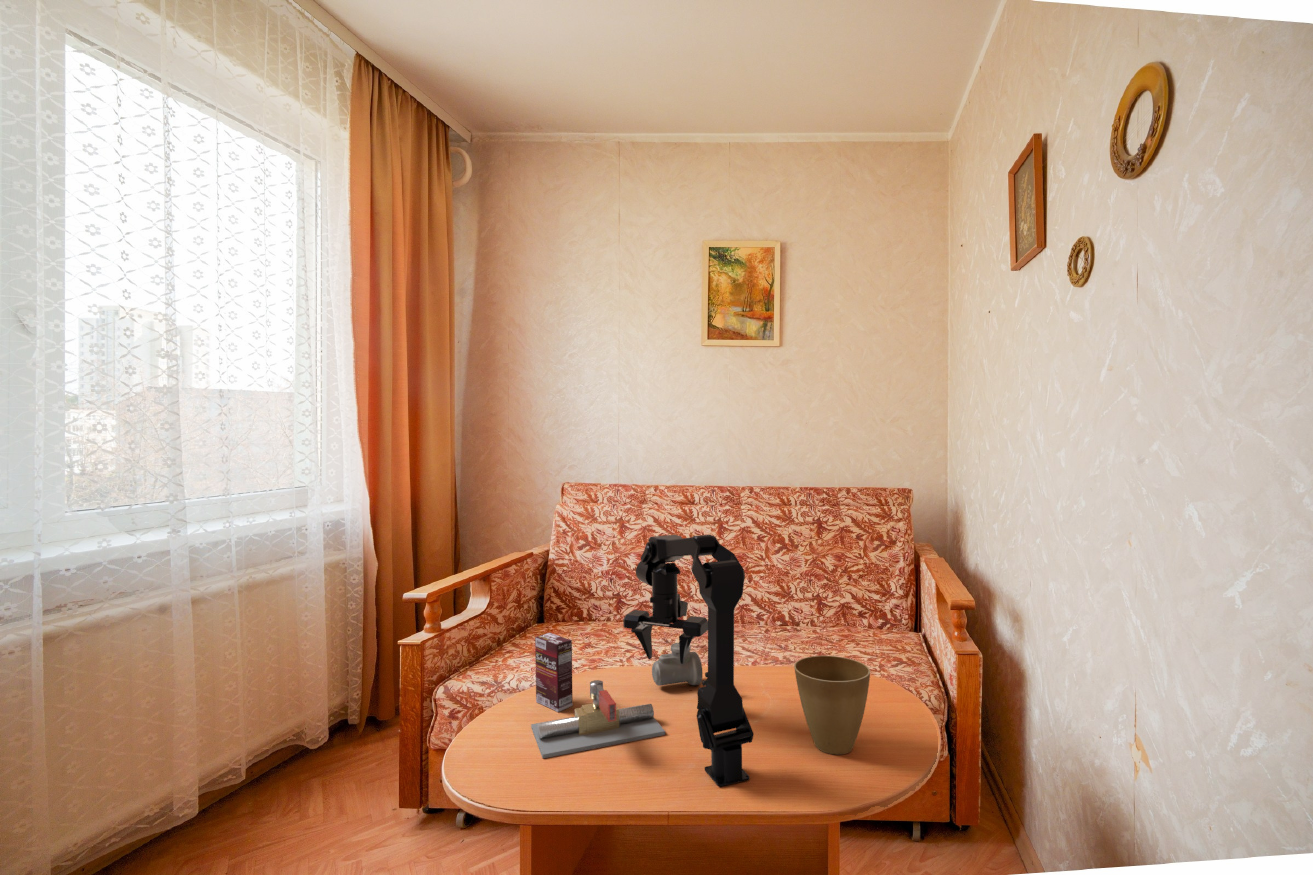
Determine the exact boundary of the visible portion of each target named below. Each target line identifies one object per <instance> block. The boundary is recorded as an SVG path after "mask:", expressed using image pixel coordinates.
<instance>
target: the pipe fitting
mask: <svg viewBox="0 0 1313 875" xmlns="http://www.w3.org/2000/svg"><path fill="white" fill-rule="evenodd" d="M691 646H692V645H690V646H689V649H688V652H687V655H686V658H685V661H684V663H683V664H681V662H680V648H679V642H673V643H672V644H671V645H670V651H671V653H665V654H664V653H663V654H661V655H660V656H659V657H658V660H655V661H654V662H653V664H652V666H651V675H652V676H651V677H652V679H653V682H654V683H655V685H656V686H658V687H659V686H668V685H674V684H680V683H681V684H682V683H687V684H689V685H690V686H698V685H699V686H700V685H702V681H703V673H704V672H703V666H702V665H703V664H702V661H701V658H700V656H699V654H698V653H697V652H696V651H692V650H691Z"/></svg>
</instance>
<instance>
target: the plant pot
mask: <svg viewBox="0 0 1313 875" xmlns="http://www.w3.org/2000/svg"><path fill="white" fill-rule="evenodd" d="M793 664H794V666H793V668H794V674H795V681H796V684H797V691H798V695H799V698H800V703H801V707H802V712H803V715H804V717H805V721H806V725H807V727H808V730H809V732H810V734H811V739H812V741H813V743H814V745H815V748H817V749H818V750H819V751H821V752H823V753H827V754H830V755H845V754H849V753H851V752H852V750H853V748H854V746H855V743H856V741H857V738H858V735H859V731H860V729H861V726H862V722H863V717H864V714H865V710H866V705H867V701H868V700H867V699H868V693H869V687H870V678H871V669H870V668H869V666H868V665H867V664H865V663H863V662H860V661H859V660H856V659H852V658H849V657H843V656H837V655H813V656H807V657H803V658H800V659H799V660H797V661H796V662H795V663H793Z"/></svg>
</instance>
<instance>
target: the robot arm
mask: <svg viewBox="0 0 1313 875" xmlns="http://www.w3.org/2000/svg"><path fill="white" fill-rule="evenodd" d="M647 540H648V541H647V542H646V544H645V547H644V550H643V552H642V554H641V556H640V561H639V562H638V563H637V565H636V568H635V576H636V577H637V579H638V580H639V581H640V582H641V583H644V584H646V585H648V586H650V587H651V590H652V591H651V594H652V595H651V597H649V603H652V605H651V606H652V615H650V612H649V611H648V610H640V609H639V610H638V609H634V610H632V611H630V612H629V613H627V614H625V616H624V617H623V621H622V622H623V625H622V626H623V628H624V629H630V632H631V633H634V634H635V636H636V637H637V640H638V641H639V643H640V644H641V647H642V649H643V652H644V653H645V655H646V657H647V659H648V660H651V659H652V658H653V645H652V630H653V627H654V626H656V627H662V628H663V627H664V628H672V629H681V630H682V633H681V634H680V635H679V636H678V643H679V648H680V662H681V664H683V663H684V661H685V658H686V655H687V652H688V649H689V646H691V643H692V640H693V639H694V638H697V637H698V638H699V637H702V636H703V635H704V634H705V633H706V632H707V672H708V682H707V684H706V685H705V686H701V687H699V688H698V689H697V692H696V693H697V705H696V709H697V710H696V711H697V712H696V720H697V728H698V733H699V737H700V738H699V739H700V741H701V743H702V747H703V748H704V749H706V750H710V752H711V753H710V754H711V755H710V756H711V761H710V762H711V765H707V766H704V771H705V772H706V774H707V775H708V776H709V777H710V778H711V779H712V781H713V782H714V783H715V785H716V786H718V787H725V786H729V785H733V784H738V783H742V782H746V781H749V780H750V779H751V777H750V775H749V774H748V773H747V772H746V771H745V770H744V769H743V744H747V743H749V744H750V743H753V740H754V731H753V728H752V726H751V724H750V722H749V719H748V716H747V713H746V712H745V708H744V702H743V698H742V696H741V694H740V693H739V691H738V690H737V688H736V686H735V610H736V609H735V608H736V607H737V605H738V603H740V601H741V598H742V597H743V594H744V593H743V592H744V586H745V578H746V573H745V569H744V567H743V566H742V564H741V563H740V562H739V561H740V560H738V558H737V557H736V555H735V553H734V552H733V551H731V550H729V549H728V548H727V547H725V546H724V545H723V544H720V542H719V540H718V539H717V537H716V536H715V535H712V534H700V535H694V536H692V537H684V538H683V537H682V536H681V535H678V534H668V535H667V534H666V535H656V536H650V537H649V538H648V539H647ZM685 556H688V557H689V556H691V558H692V564H691V573H692V575H693V576H694V579H695V580H696V582H697V583H698V588H699V589H698V590H699V591H698V592H699V594H700V596H701V598H702V599H703V601H704V602H705V604H706V606H707V618H706V617H704V616H703V617H702V616H694V615H691V616H690V617H689V616H688V618H687V619H679V618H682V617H687V614H688V604H689V603H688V602H687V601H685V600H681V594H680V593H678V592H679V590H678V575H680V574H681V570H680V568H679V567H678V566H677V565H676V563H675V562H676V561H679V560H680V559H683V558H684V557H685ZM702 556H703V557H705V556H711V557H712V558H713V559H714V560H716V561H708V562H704V563H702V561H701V559H700V557H702ZM720 732H721V733H720Z"/></svg>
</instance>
